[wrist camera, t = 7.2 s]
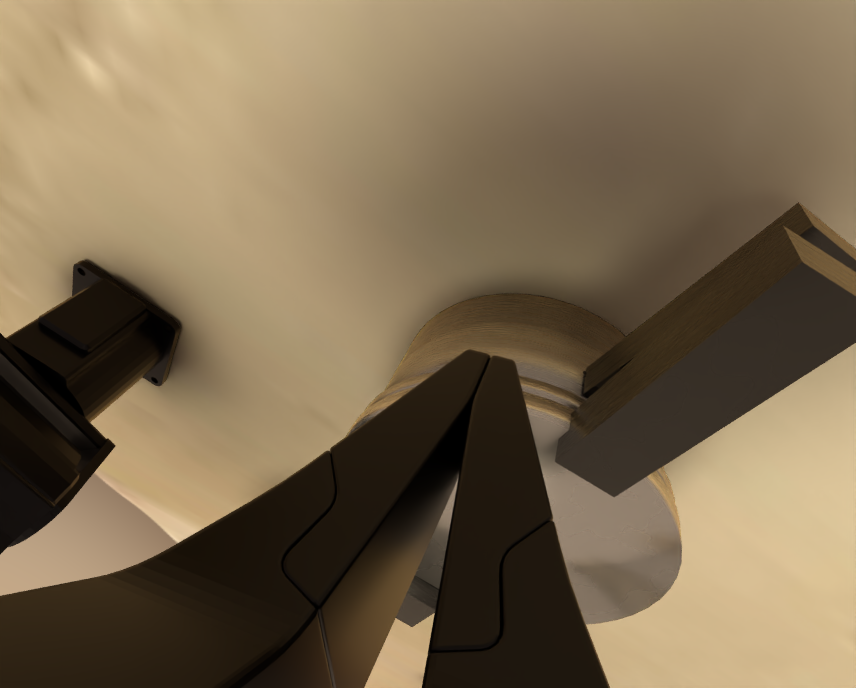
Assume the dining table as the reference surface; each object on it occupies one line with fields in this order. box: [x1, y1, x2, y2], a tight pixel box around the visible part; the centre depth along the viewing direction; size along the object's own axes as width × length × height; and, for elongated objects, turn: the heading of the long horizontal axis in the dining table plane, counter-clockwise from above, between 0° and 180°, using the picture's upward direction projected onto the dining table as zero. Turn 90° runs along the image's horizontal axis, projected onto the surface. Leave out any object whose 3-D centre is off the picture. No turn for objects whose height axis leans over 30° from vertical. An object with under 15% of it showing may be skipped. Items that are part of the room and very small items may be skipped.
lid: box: [346, 226, 856, 627], centre depth 17 cm, size 22×13×2 cm, turn 154°
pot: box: [365, 202, 856, 502], centre depth 20 cm, size 22×13×6 cm, turn 149°
